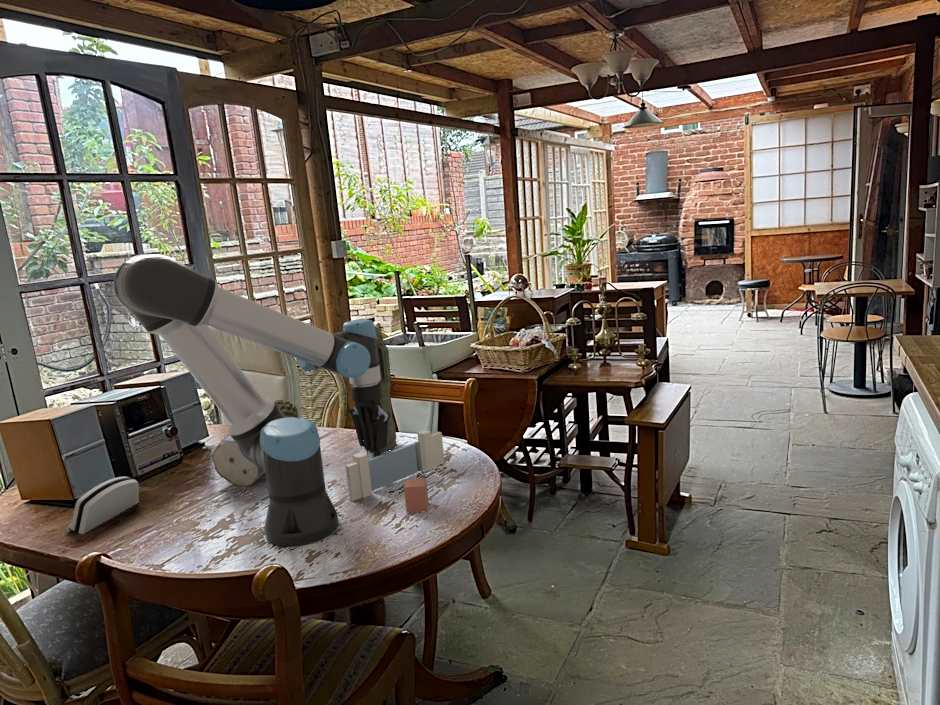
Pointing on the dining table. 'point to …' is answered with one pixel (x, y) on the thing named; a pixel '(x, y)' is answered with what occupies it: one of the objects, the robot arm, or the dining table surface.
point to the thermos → (386, 389)
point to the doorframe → (360, 467)
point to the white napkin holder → (104, 503)
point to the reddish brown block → (416, 495)
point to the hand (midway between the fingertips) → (376, 474)
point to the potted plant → (234, 463)
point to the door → (395, 465)
